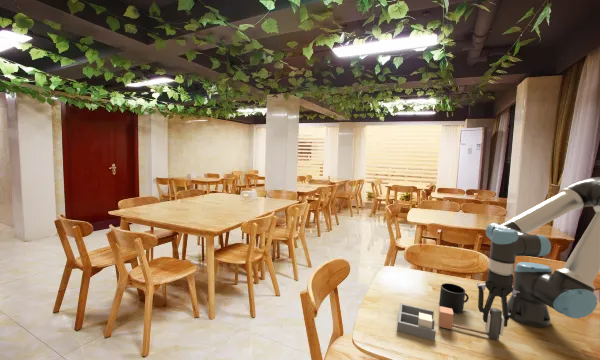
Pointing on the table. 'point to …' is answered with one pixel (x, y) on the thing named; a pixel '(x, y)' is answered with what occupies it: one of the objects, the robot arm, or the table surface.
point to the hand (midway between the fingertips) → (493, 331)
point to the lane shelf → (414, 321)
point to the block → (425, 320)
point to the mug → (452, 297)
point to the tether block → (494, 329)
